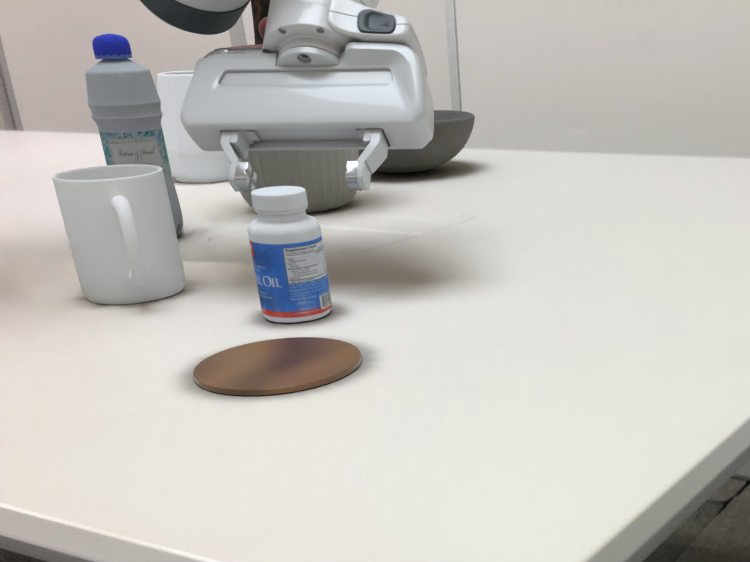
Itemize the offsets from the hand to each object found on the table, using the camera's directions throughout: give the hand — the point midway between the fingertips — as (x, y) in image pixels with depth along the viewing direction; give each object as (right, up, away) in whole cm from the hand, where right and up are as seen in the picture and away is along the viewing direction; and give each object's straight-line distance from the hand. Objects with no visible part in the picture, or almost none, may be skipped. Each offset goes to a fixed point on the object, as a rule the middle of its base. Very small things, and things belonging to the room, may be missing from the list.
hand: (298, 186), depth 81 cm
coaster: (+3, -16, -11) cm, 20 cm away
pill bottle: (0, -10, 0) cm, 10 cm away
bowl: (-7, +21, +65) cm, 69 cm away
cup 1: (-15, -8, +6) cm, 18 cm away
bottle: (-24, +2, +27) cm, 37 cm away
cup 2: (-34, +19, +63) cm, 74 cm away
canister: (-14, +10, +42) cm, 45 cm away
